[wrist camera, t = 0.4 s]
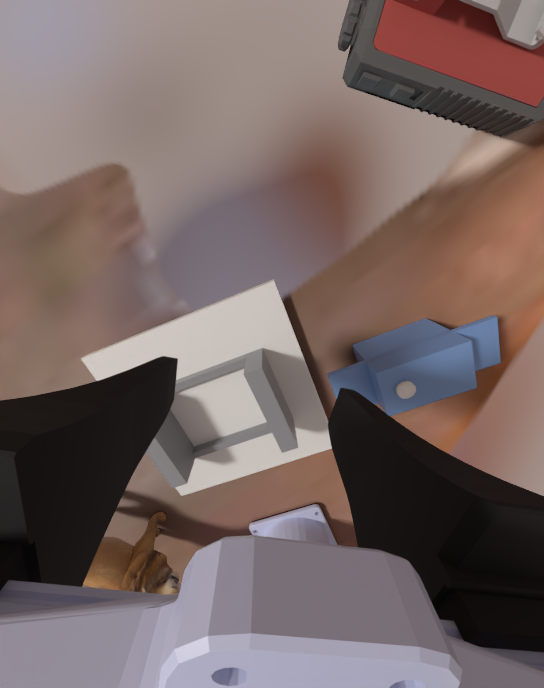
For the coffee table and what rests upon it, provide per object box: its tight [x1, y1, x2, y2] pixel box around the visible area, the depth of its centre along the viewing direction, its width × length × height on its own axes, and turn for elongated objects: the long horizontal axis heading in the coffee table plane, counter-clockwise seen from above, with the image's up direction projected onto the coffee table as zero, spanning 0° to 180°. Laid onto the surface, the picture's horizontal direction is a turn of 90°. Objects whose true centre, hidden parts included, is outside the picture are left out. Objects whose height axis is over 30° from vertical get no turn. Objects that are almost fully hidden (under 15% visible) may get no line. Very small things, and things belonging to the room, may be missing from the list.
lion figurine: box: [83, 512, 181, 595], centre depth 24 cm, size 15×5×9 cm, turn 61°
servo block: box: [327, 315, 501, 416], centre depth 19 cm, size 4×12×5 cm, turn 111°
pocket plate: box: [81, 279, 332, 496], centre depth 21 cm, size 16×16×4 cm
